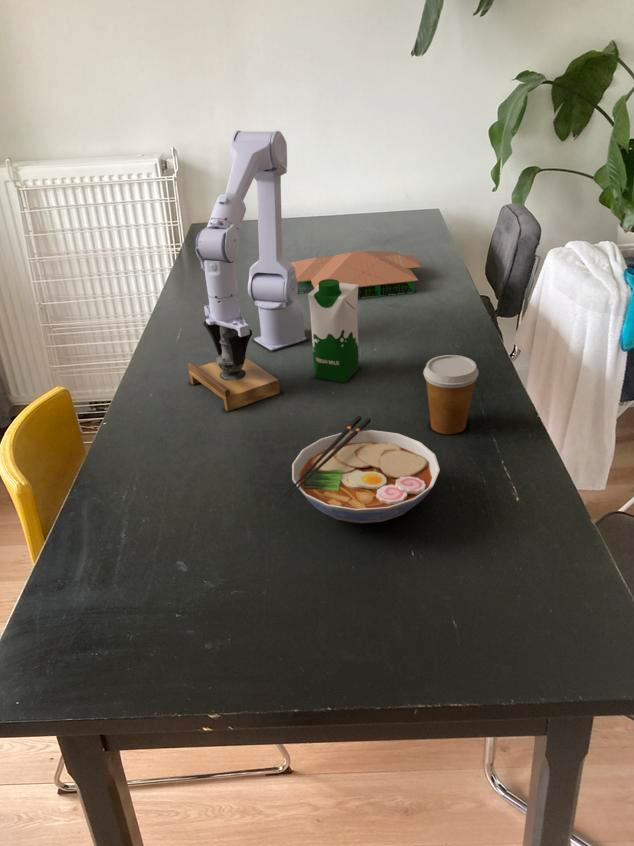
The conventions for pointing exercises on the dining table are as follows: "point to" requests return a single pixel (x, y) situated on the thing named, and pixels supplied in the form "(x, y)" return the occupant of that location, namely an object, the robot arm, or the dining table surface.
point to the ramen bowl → (365, 474)
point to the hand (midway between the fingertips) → (231, 359)
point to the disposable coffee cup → (450, 391)
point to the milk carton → (334, 329)
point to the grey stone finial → (228, 361)
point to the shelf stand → (236, 383)
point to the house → (359, 269)
